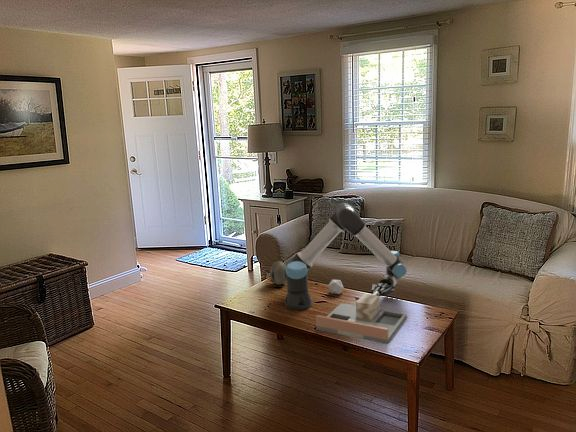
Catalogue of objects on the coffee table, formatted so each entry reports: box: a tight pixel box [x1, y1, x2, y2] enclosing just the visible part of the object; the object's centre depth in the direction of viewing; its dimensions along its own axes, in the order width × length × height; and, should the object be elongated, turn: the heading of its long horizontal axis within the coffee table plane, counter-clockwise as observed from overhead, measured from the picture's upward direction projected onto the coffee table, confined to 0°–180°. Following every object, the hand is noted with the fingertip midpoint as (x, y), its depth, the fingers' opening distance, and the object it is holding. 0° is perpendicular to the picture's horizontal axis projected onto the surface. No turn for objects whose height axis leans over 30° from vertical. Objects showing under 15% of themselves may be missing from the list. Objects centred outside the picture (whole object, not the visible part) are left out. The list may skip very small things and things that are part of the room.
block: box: [355, 293, 380, 319], centre depth 234 cm, size 8×12×8 cm, turn 149°
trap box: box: [315, 302, 408, 345], centre depth 228 cm, size 36×30×7 cm
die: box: [327, 279, 344, 295], centre depth 269 cm, size 8×9×10 cm
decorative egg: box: [269, 260, 287, 286], centre depth 288 cm, size 12×12×15 cm
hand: (373, 298), depth 239 cm, fingers closed
